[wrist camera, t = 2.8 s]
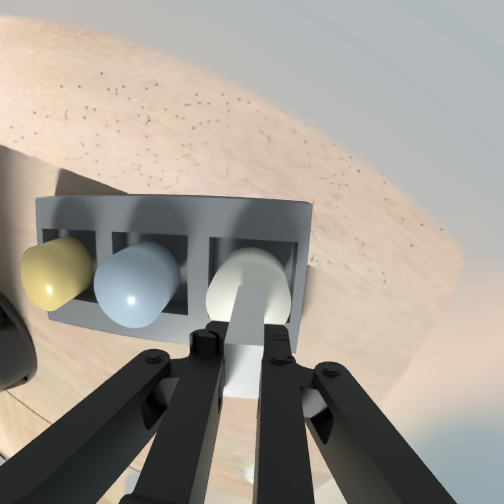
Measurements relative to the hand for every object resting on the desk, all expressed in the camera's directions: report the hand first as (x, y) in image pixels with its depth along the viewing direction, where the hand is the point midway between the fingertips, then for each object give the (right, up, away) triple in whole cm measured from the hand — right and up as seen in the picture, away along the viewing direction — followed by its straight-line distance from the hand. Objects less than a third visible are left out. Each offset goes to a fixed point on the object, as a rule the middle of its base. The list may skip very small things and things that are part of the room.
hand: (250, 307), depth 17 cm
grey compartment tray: (-8, +2, +8) cm, 11 cm away
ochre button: (-16, +2, +5) cm, 17 cm away
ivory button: (0, +1, +5) cm, 5 cm away
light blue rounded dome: (-8, +2, +5) cm, 10 cm away
